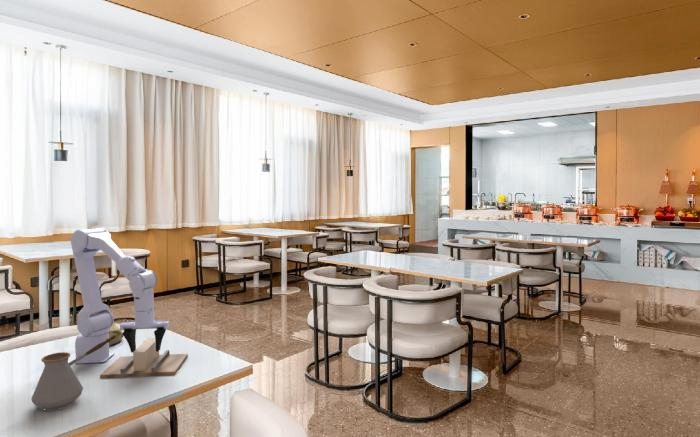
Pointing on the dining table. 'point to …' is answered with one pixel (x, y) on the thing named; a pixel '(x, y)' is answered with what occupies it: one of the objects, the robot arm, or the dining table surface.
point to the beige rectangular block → (145, 355)
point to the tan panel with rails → (160, 366)
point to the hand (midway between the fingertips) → (145, 350)
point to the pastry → (115, 331)
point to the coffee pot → (60, 380)
